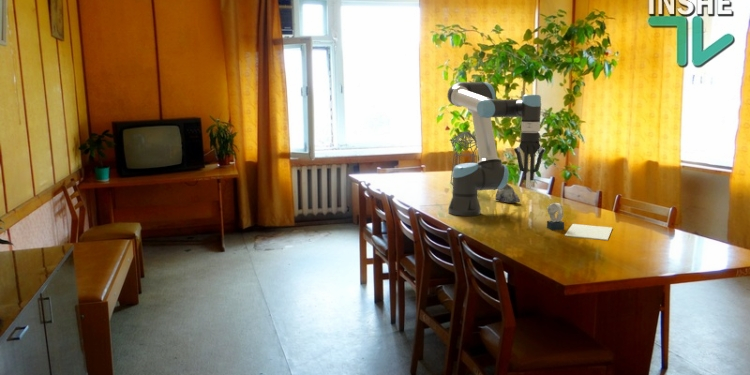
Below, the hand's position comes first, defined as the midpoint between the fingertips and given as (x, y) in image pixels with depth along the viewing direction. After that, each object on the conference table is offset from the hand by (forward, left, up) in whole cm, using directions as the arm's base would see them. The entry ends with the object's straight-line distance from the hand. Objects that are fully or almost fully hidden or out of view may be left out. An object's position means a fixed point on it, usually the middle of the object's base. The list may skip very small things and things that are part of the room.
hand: (528, 187), depth 245 cm
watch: (+12, 0, -17) cm, 21 cm away
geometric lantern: (-50, +69, -17) cm, 87 cm away
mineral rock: (-20, +49, -17) cm, 56 cm away
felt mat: (+25, 0, -17) cm, 30 cm away
